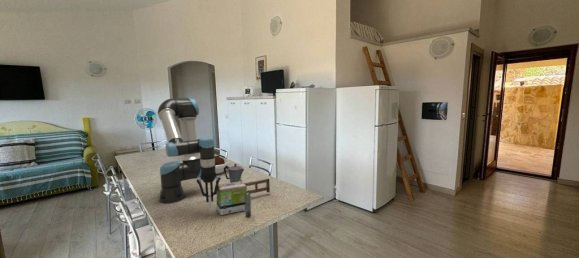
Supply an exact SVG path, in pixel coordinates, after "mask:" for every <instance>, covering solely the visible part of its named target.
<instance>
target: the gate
mask: <svg viewBox="0 0 579 258" xmlns="http://www.w3.org/2000/svg"><path fill="white" fill-rule="evenodd" d="M244 184H245V185H246V186H247V187H249V186H254V188H255V189H251V190H247V192H250V195H252V194H255V193H261V192H265V191H266V193H270V191H271V189H270V187H271V185H270V179H269V178H265V179H260V180H259V179H258V180H255V181H250V182H244ZM260 184H266V185H265V187H260V188H258V185H260Z"/></svg>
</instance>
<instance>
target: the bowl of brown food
mask: <svg viewBox="0 0 579 258" xmlns="http://www.w3.org/2000/svg"><path fill="white" fill-rule="evenodd" d="M229 165H230V160H229V159H227V158H223V157H221V156H220V155H215V165H214V166H215V172H216V175H219V174H222V173H224V168H225V166H229ZM225 170H226V171H227V168H226V169H225Z"/></svg>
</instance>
